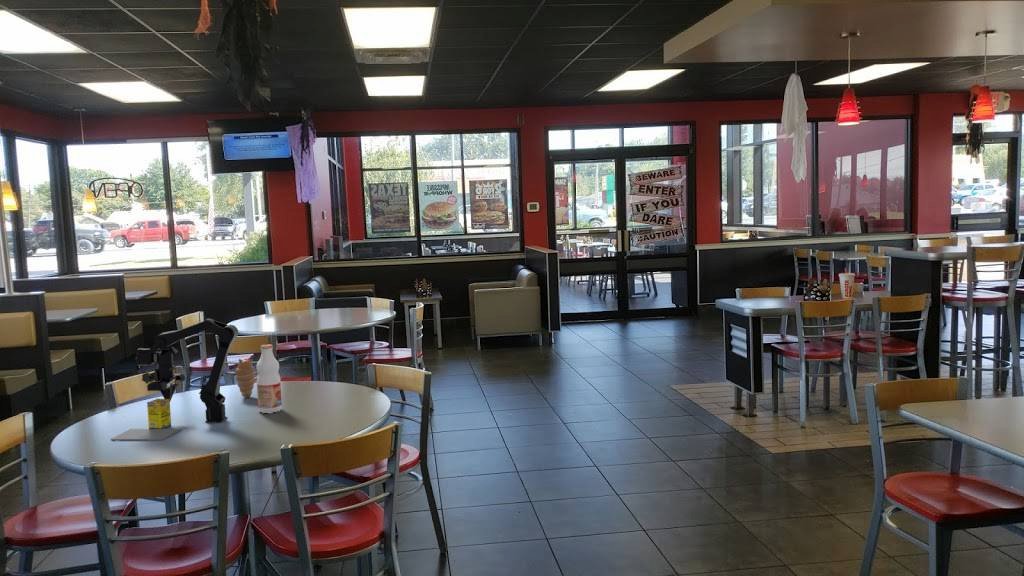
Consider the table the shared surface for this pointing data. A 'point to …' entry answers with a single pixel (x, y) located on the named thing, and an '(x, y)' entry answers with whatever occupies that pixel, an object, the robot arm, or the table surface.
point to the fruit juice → (268, 381)
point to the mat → (146, 434)
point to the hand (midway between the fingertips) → (167, 403)
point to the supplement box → (159, 414)
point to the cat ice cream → (245, 377)
